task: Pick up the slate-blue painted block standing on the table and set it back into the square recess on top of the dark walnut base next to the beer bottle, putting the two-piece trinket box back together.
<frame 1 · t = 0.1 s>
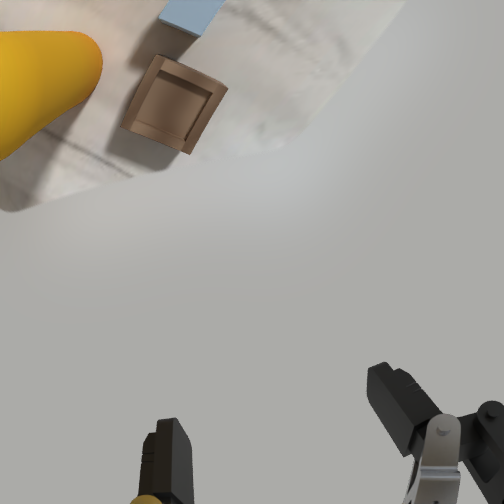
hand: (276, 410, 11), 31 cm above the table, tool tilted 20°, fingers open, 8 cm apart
lid block: (190, 13, 24), on the table
beer bottle: (68, 69, 25), on the table
walnut base: (173, 97, 30), on the table
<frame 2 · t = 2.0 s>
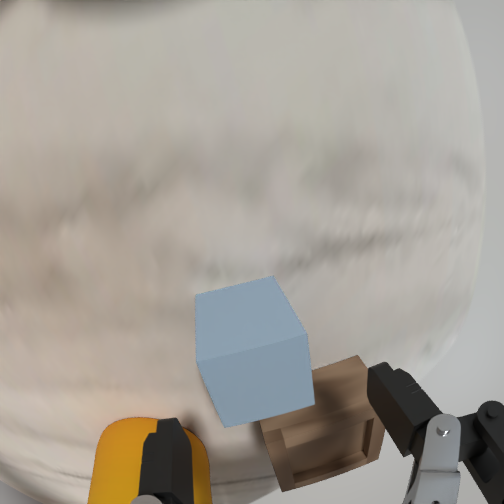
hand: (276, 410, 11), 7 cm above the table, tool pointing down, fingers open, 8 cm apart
lid block: (242, 318, 18), on the table
beer bottle: (153, 445, 21), on the table
walnut base: (310, 406, 21), on the table
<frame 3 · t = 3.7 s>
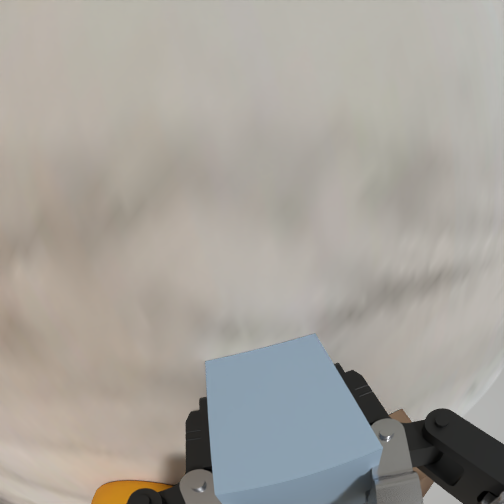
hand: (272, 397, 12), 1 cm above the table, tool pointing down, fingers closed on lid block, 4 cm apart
lid block: (270, 386, 12), on the table, touching gripper
beer bottle: (155, 502, 15), on the table
walnut base: (341, 463, 16), on the table
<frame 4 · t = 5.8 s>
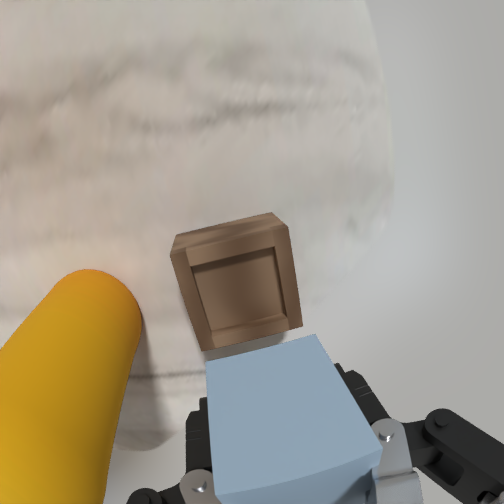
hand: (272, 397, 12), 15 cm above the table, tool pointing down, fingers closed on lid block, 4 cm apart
lid block: (270, 387, 12), point 15 cm above the table, touching gripper
beer bottle: (97, 311, 26), on the table
walnut base: (234, 268, 26), on the table
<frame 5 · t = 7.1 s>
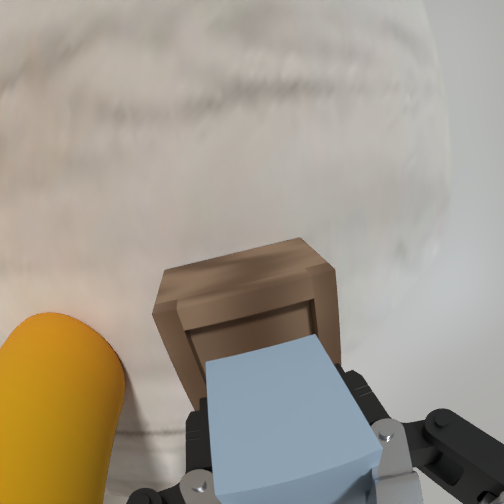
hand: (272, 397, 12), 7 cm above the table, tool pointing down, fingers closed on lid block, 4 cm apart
lid block: (270, 387, 12), point 7 cm above the table, touching gripper
beer bottle: (70, 361, 18), on the table
walnut base: (246, 313, 19), on the table
when the fingers open (6 cm above the table, at t = 8.2 s): lid block drops 1 cm, resting on walnut base.
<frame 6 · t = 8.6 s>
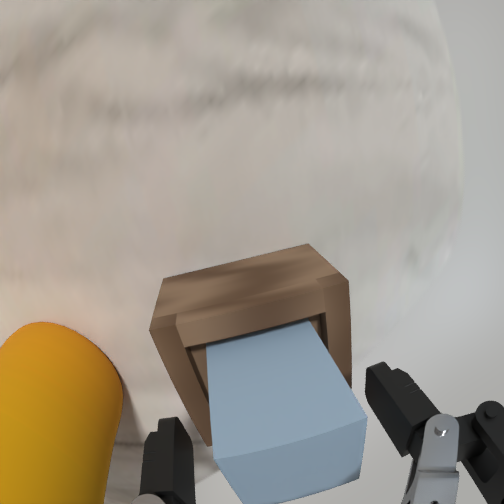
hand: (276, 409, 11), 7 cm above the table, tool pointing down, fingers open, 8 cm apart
lid block: (266, 369, 14), point 4 cm above the table, touching walnut base
beer bottle: (65, 372, 17), on the table
walnut base: (251, 324, 17), on the table
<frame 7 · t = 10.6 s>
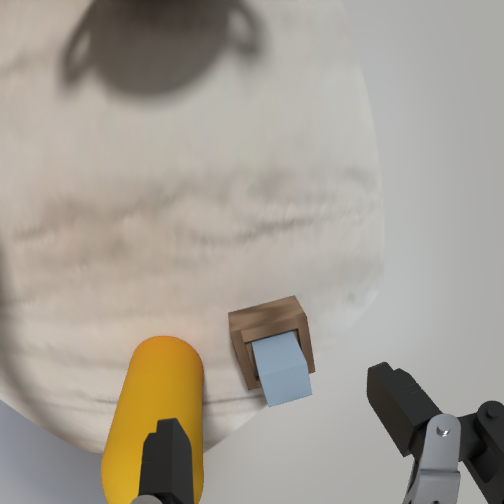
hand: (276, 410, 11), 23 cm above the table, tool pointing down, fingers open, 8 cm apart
lid block: (275, 351, 33), point 4 cm above the table, touching walnut base
beer bottle: (167, 361, 37), on the table
walnut base: (268, 331, 37), on the table
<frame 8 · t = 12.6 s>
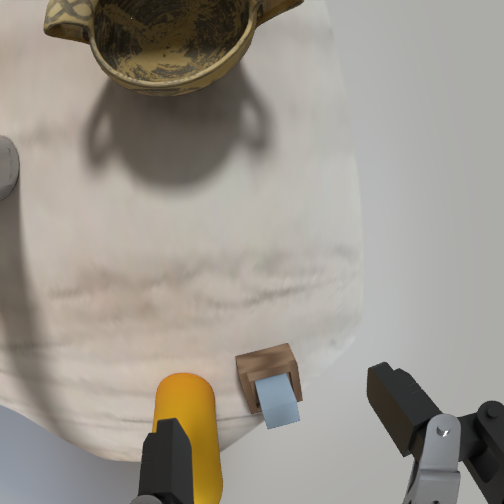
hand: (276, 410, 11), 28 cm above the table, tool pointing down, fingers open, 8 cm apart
lid block: (272, 386, 41), point 4 cm above the table, touching walnut base
beer bottle: (185, 391, 45), on the table
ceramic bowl: (178, 43, 29), on the table
walnut base: (266, 368, 45), on the table
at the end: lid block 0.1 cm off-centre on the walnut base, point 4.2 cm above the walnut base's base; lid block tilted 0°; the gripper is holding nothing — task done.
